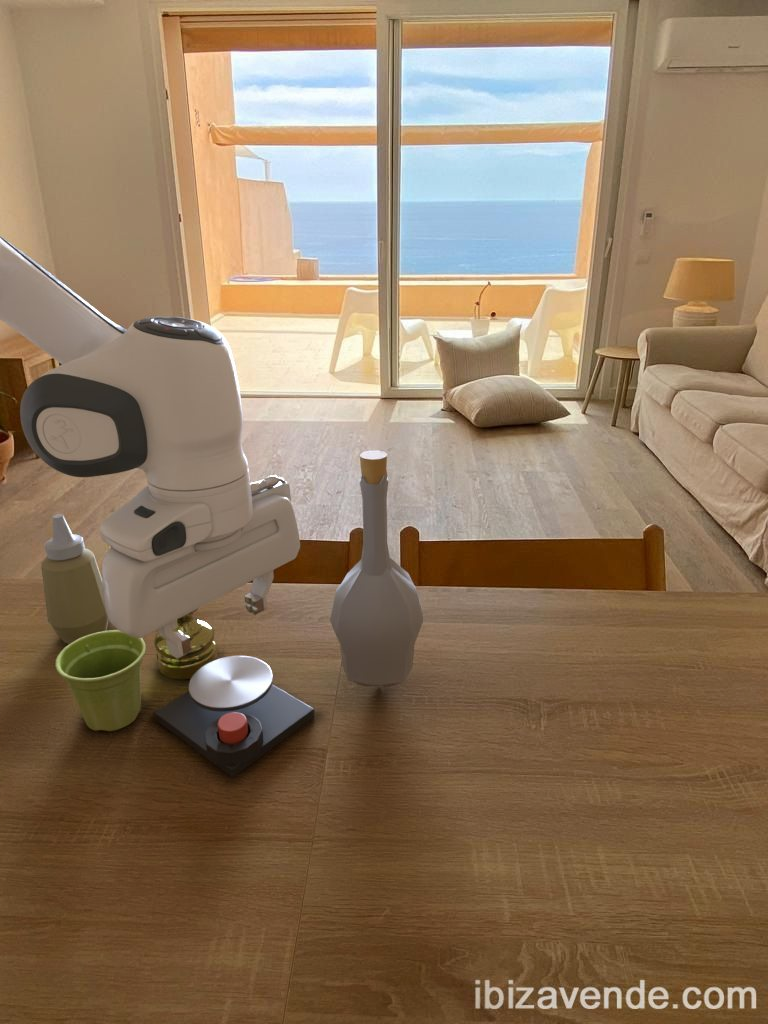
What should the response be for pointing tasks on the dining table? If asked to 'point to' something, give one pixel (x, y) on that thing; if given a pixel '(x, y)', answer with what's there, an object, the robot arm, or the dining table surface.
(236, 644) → the dining table surface
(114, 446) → the robot arm
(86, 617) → the squeeze bottle
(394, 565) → the bottle
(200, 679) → the weighing pan
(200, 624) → the gold ribbed tiered piece
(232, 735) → the tare button
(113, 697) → the plant pot
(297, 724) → the scale
